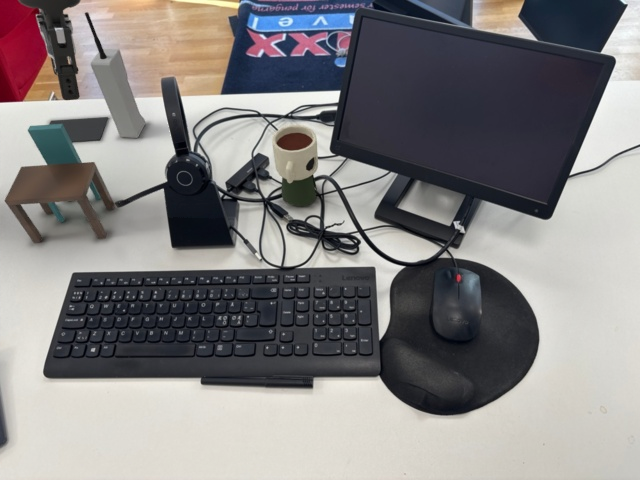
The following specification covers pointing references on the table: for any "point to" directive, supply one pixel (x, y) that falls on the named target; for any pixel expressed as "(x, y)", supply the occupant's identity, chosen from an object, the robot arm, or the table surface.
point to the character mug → (296, 163)
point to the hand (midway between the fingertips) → (66, 86)
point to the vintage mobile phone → (116, 89)
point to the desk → (57, 192)
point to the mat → (83, 128)
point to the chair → (56, 152)
